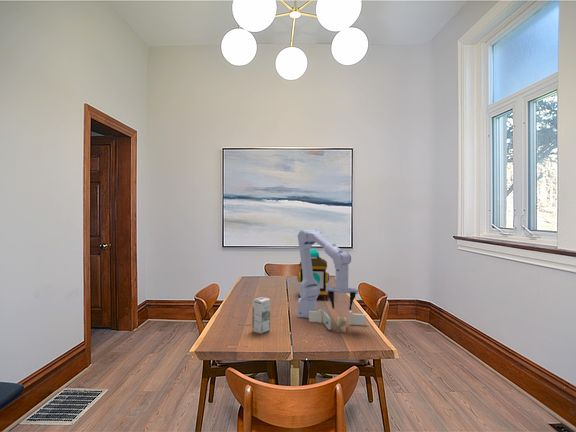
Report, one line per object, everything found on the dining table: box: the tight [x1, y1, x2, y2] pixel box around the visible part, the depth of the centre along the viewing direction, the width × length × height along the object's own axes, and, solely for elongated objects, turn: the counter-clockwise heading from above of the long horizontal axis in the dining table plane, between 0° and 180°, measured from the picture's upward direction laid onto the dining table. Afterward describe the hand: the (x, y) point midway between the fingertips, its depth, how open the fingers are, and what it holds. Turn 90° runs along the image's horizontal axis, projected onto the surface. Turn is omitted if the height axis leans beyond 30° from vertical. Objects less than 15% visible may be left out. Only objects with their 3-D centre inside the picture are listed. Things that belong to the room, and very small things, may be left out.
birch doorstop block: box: [336, 316, 347, 333], centre depth 154 cm, size 4×8×4 cm, turn 169°
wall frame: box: [308, 308, 366, 326], centre depth 161 cm, size 27×2×6 cm, turn 78°
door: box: [322, 310, 332, 331], centre depth 157 cm, size 11×2×5 cm, turn 8°
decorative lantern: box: [296, 248, 330, 301], centre depth 210 cm, size 20×20×30 cm
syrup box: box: [251, 296, 271, 335], centre depth 151 cm, size 6×6×14 cm
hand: (341, 308), depth 154 cm, fingers open, 7 cm apart
